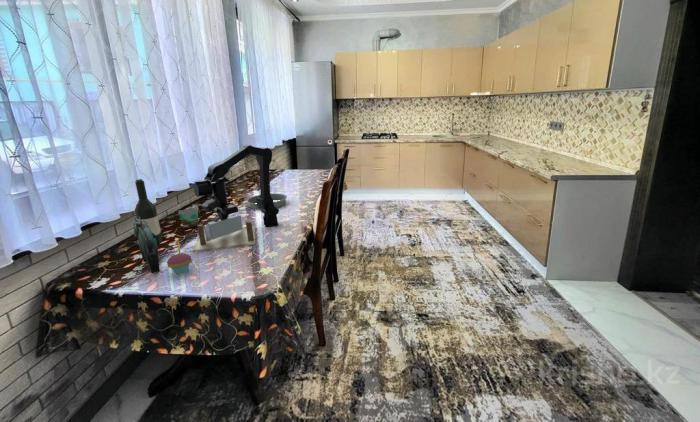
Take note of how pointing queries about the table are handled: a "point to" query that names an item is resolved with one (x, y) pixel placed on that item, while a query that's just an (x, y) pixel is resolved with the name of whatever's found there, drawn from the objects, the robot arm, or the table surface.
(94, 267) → the table surface
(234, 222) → the gate
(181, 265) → the cupcake
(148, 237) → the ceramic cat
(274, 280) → the table surface
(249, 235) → the latch post
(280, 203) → the cake pan
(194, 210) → the food container
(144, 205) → the wine bottle
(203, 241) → the hinge post
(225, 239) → the base board
